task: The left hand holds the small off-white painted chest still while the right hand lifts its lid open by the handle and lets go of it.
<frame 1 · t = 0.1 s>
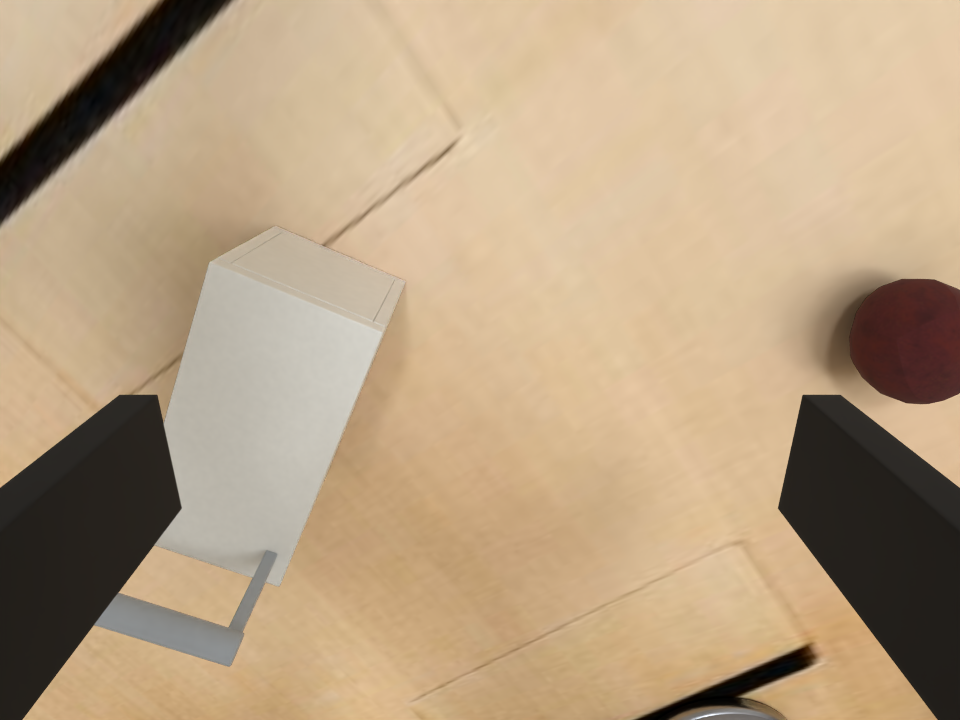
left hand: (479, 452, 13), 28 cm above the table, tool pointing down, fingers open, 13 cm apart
chest: (301, 364, 42), on the table
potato: (880, 320, 41), on the table
lid: (224, 475, 30), point 13 cm above the table, hinge at 0.0°
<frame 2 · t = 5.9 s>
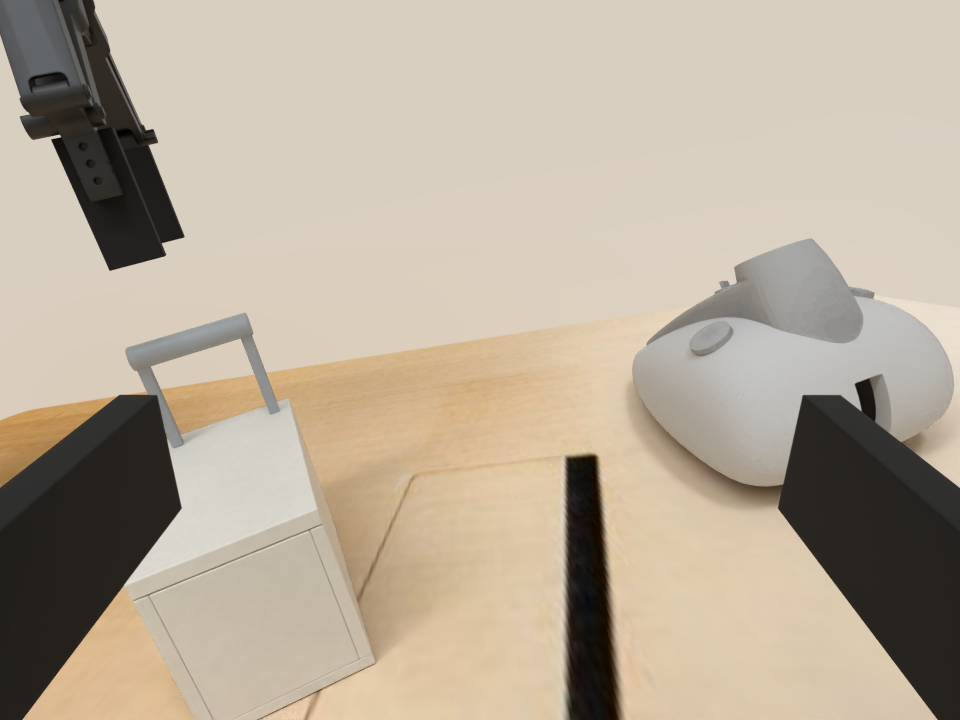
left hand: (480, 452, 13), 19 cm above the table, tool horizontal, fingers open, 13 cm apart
chest: (283, 603, 40), on the table
projector: (745, 421, 48), on the table
lid: (206, 420, 35), point 13 cm above the table, hinge at 0.0°
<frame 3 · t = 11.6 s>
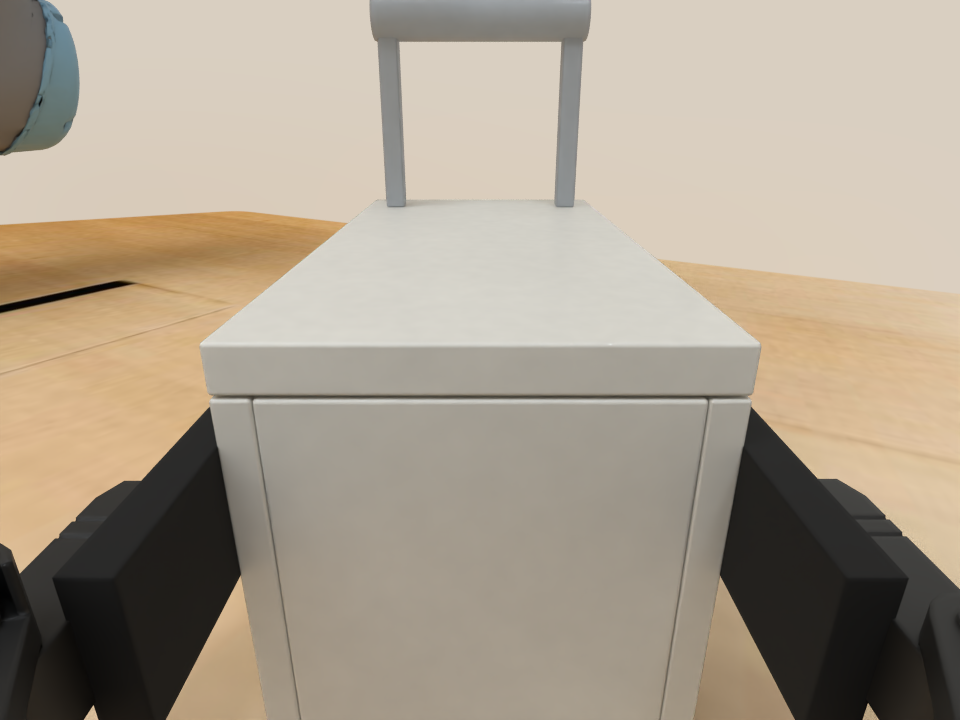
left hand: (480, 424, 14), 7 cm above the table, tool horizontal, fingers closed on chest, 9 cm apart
chest: (480, 534, 21), on the table, touching left hand
lid: (480, 119, 17), point 13 cm above the table, hinge at -0.1°
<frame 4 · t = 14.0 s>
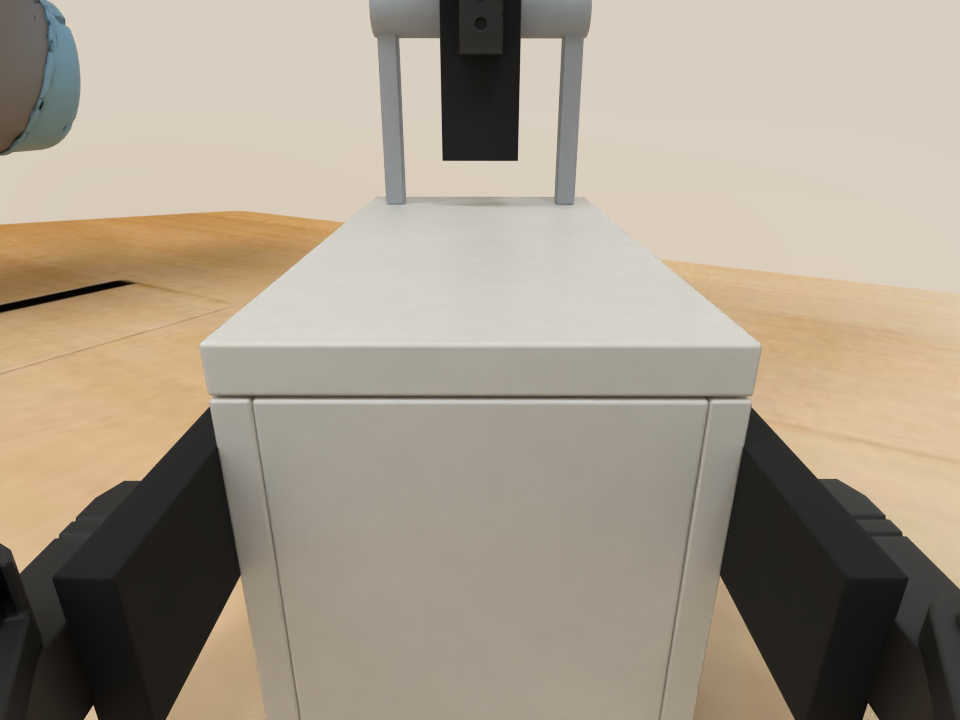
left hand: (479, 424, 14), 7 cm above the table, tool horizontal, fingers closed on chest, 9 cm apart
chest: (479, 534, 21), on the table, touching left hand
lid: (480, 117, 17), point 13 cm above the table, hinge at 0.3°, touching right hand
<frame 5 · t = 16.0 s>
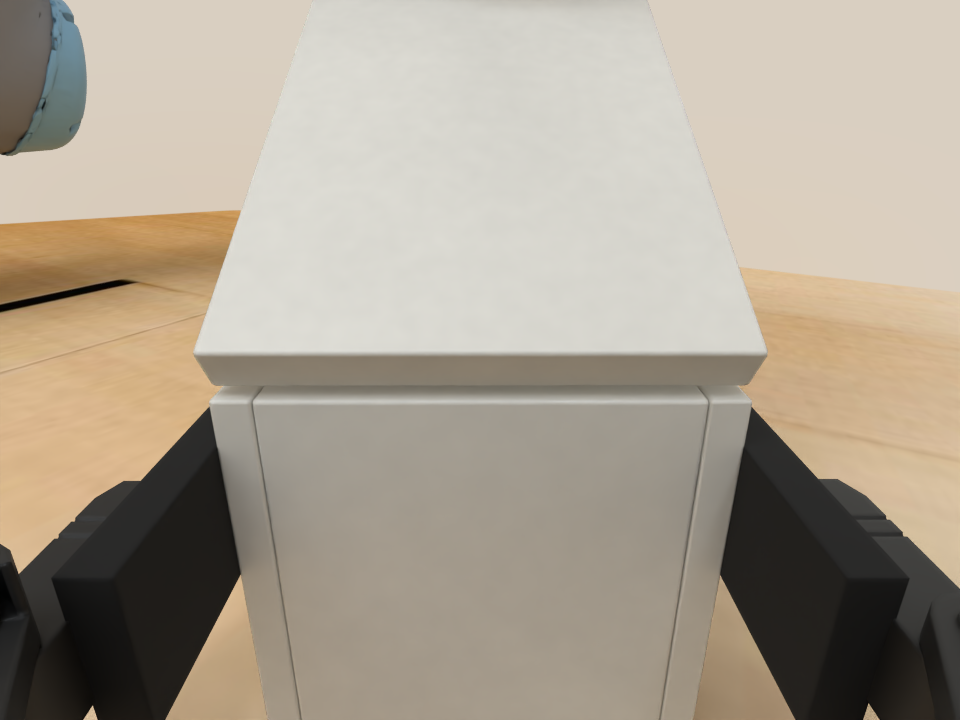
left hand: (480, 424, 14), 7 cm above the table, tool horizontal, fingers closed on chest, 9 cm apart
chest: (480, 533, 21), on the table, touching left hand
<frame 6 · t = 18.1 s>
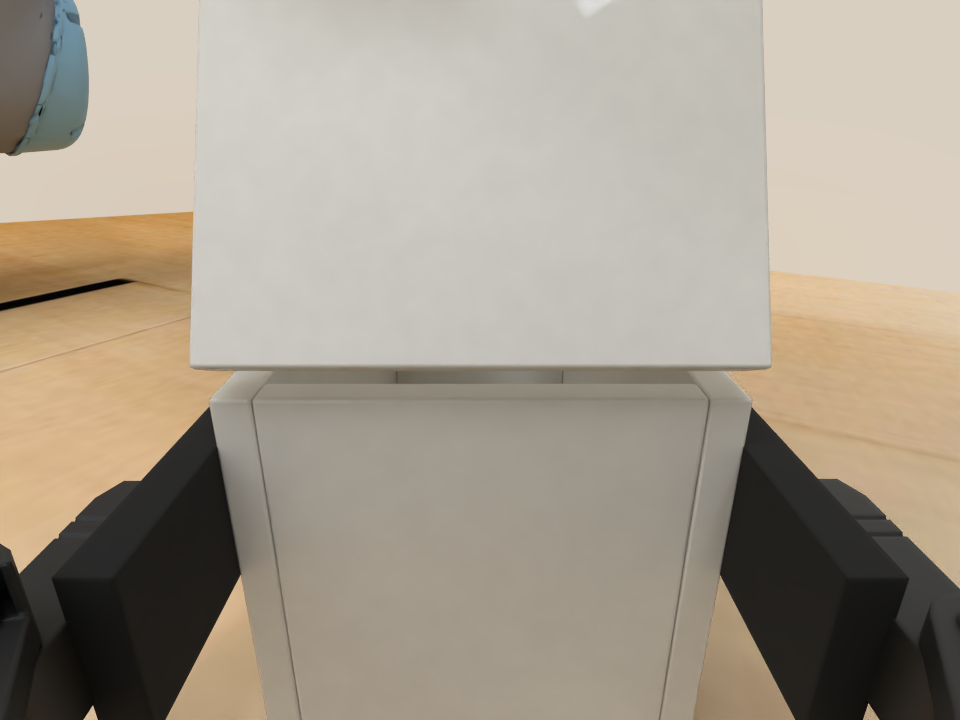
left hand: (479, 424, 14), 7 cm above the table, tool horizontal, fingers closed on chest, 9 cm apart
chest: (479, 532, 21), on the table, touching left hand
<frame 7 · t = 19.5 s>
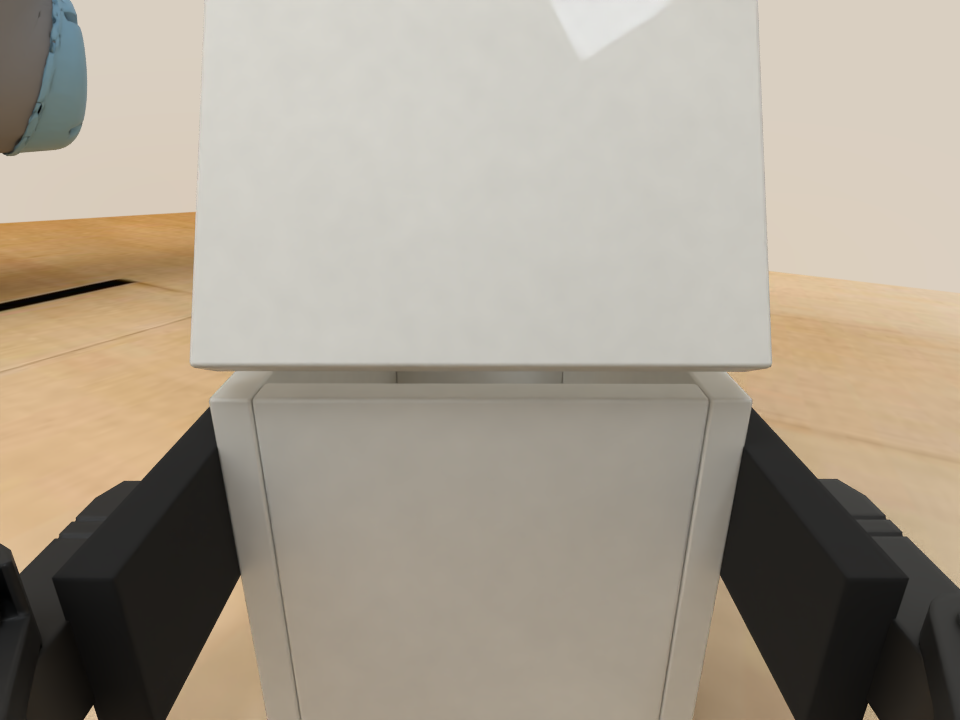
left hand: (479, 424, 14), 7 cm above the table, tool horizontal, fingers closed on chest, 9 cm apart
chest: (479, 532, 21), on the table, touching left hand
when the left hand's fingers open (7 cm above the table, at t = 22.6 s): chest stays where it is, on the table.
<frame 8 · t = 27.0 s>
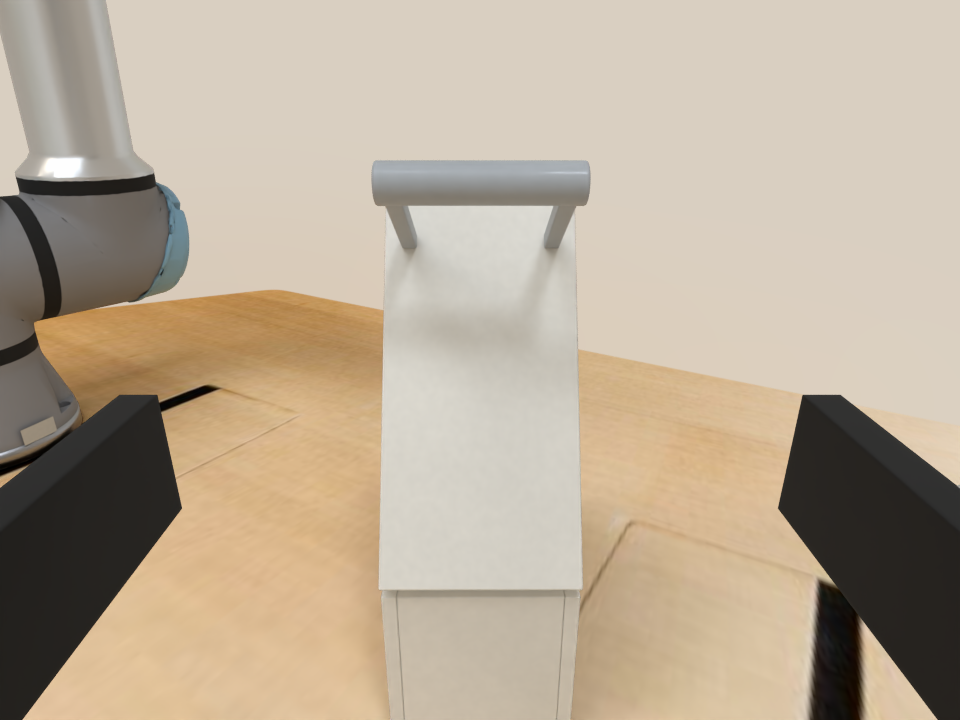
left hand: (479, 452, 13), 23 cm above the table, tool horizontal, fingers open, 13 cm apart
chest: (480, 613, 38), on the table
lid: (480, 380, 24), point 19 cm above the table, hinge at 61.0°
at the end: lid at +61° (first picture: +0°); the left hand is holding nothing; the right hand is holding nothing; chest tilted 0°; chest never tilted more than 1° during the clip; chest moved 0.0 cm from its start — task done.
